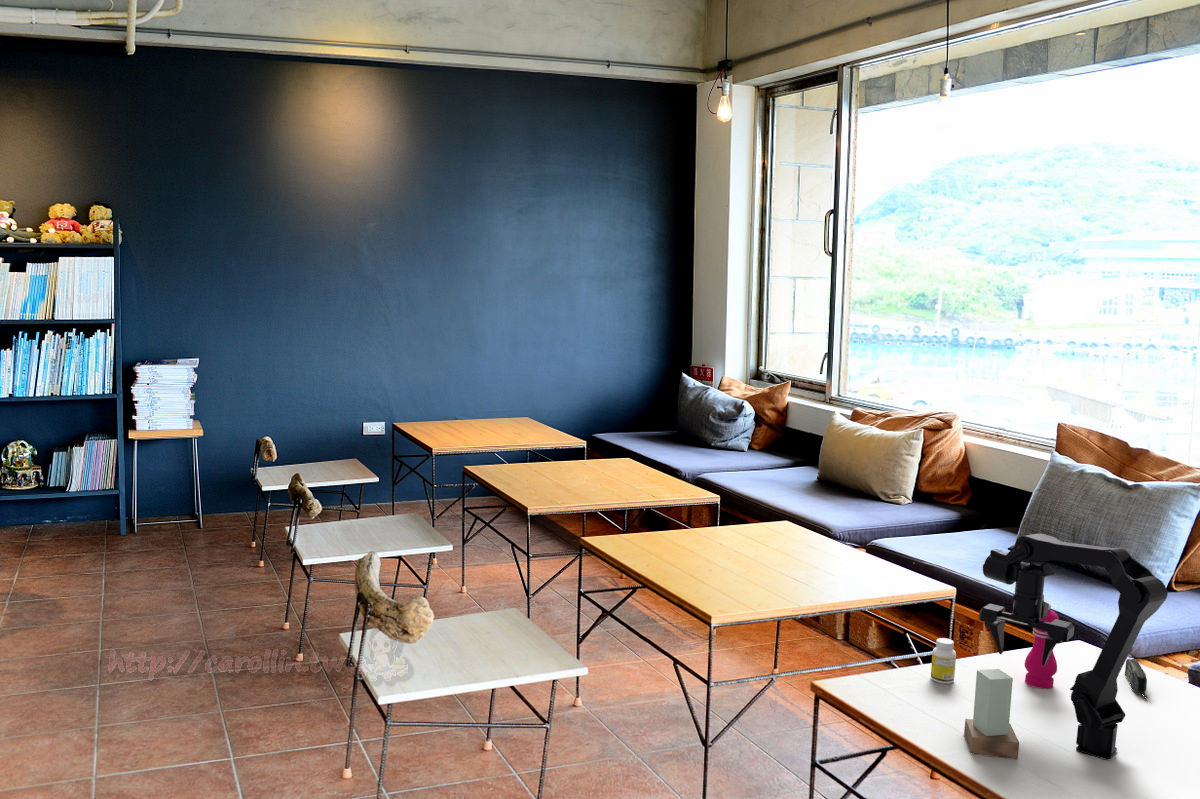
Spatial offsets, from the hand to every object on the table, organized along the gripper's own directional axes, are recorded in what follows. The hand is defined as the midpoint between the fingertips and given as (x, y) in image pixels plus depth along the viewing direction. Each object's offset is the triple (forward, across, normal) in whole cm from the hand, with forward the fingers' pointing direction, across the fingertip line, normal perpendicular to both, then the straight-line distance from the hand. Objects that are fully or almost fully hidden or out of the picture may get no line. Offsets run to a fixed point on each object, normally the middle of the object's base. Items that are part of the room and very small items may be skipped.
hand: (1022, 659), depth 229 cm
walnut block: (+14, -1, +20) cm, 24 cm away
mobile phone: (+13, -16, -38) cm, 44 cm away
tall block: (+9, -1, +20) cm, 22 cm away
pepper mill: (+13, +2, -23) cm, 27 cm away
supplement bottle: (+13, +20, -8) cm, 25 cm away
